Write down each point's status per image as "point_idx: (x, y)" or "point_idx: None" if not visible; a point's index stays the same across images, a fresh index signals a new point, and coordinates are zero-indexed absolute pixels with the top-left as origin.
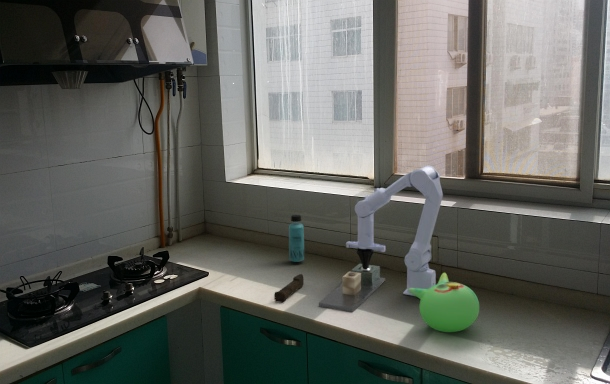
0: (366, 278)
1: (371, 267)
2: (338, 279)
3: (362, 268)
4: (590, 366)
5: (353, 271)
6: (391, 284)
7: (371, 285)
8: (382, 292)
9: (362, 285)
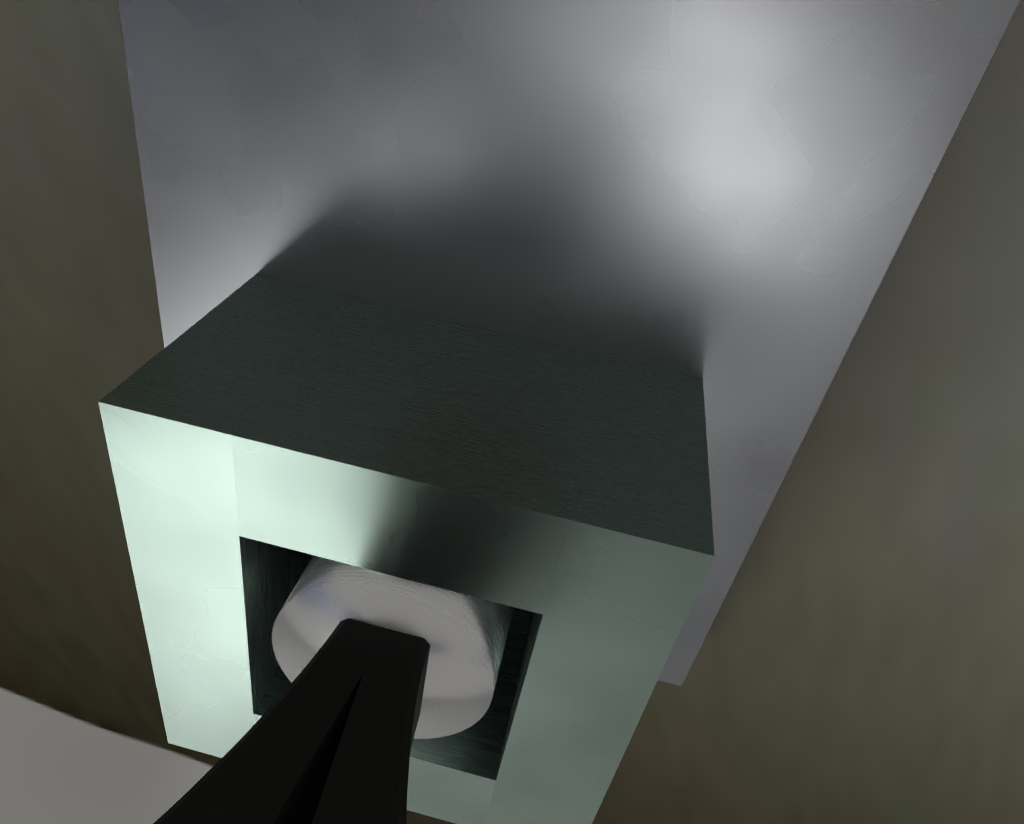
0: (330, 352)
1: None
2: (972, 541)
3: (444, 653)
4: None
5: (647, 514)
6: (87, 428)
7: (245, 213)
8: (16, 33)
9: (418, 174)
